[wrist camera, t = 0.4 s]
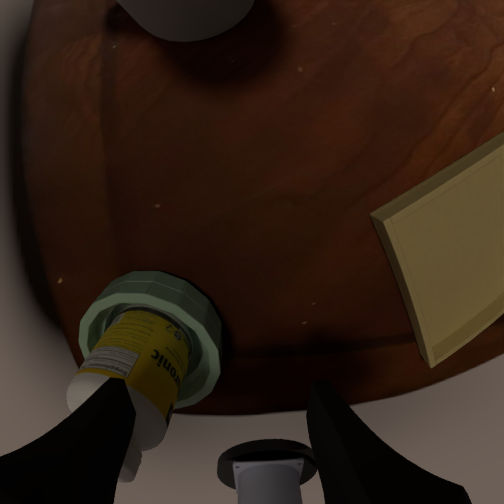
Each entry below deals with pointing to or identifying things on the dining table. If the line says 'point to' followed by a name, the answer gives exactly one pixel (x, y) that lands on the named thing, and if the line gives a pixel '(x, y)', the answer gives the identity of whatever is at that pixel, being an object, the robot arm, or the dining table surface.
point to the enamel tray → (450, 250)
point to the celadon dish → (170, 300)
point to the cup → (186, 17)
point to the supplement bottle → (139, 373)
